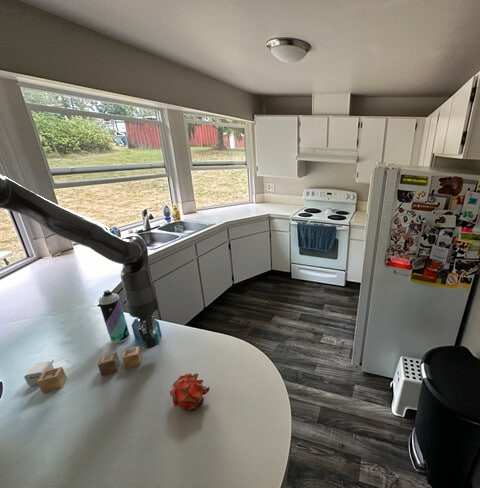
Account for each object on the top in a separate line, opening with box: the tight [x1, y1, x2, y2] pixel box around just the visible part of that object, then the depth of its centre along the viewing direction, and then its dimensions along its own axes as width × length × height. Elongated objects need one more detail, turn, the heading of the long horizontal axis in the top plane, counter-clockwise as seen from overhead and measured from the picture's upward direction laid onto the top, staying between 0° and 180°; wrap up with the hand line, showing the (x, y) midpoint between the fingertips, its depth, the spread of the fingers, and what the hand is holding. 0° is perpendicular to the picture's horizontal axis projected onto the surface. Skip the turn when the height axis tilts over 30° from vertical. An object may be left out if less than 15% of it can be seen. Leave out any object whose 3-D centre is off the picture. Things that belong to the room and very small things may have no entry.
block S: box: [143, 327, 161, 349], centre depth 83 cm, size 4×4×5 cm
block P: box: [122, 345, 143, 370], centre depth 82 cm, size 4×4×5 cm
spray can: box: [98, 290, 131, 344], centre depth 90 cm, size 6×6×20 cm
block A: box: [37, 366, 68, 394], centre depth 73 cm, size 4×4×5 cm
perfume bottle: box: [131, 317, 162, 346], centre depth 92 cm, size 6×6×12 cm
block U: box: [97, 351, 121, 377], centre depth 79 cm, size 4×4×5 cm
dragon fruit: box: [169, 372, 210, 412], centre depth 69 cm, size 8×8×12 cm
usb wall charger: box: [23, 359, 55, 386], centre depth 76 cm, size 4×7×4 cm, turn 22°
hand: (152, 342), depth 83 cm, fingers closed on block S, 4 cm apart
